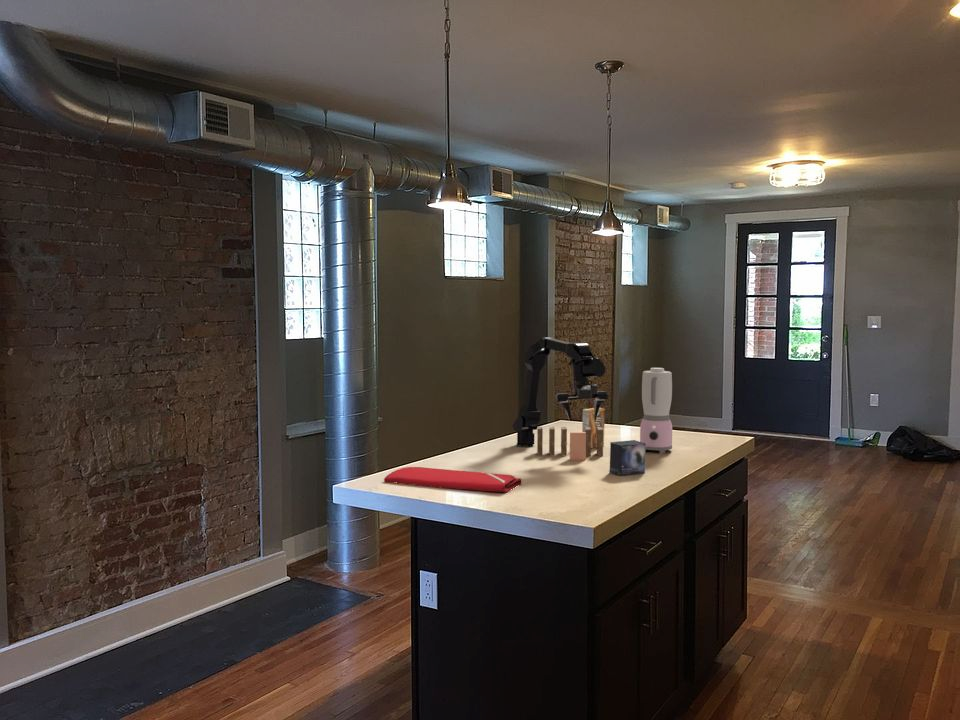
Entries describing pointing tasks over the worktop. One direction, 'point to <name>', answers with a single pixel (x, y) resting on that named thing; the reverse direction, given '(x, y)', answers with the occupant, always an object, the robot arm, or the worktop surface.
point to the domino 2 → (551, 440)
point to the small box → (627, 457)
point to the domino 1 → (539, 440)
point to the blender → (656, 410)
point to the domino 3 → (563, 440)
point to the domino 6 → (599, 441)
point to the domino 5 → (588, 441)
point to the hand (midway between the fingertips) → (582, 420)
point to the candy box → (593, 423)
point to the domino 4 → (577, 445)
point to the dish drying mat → (454, 479)
